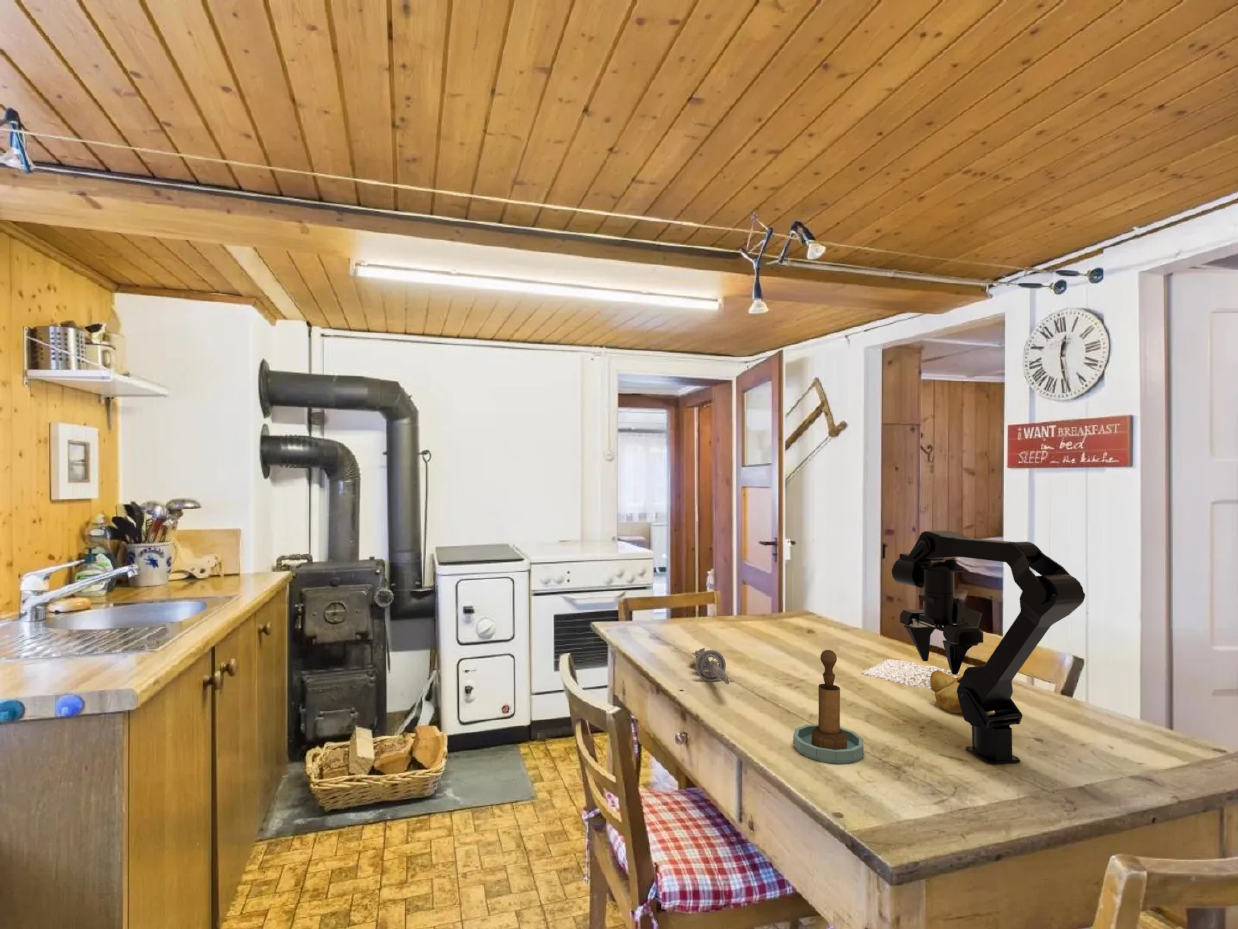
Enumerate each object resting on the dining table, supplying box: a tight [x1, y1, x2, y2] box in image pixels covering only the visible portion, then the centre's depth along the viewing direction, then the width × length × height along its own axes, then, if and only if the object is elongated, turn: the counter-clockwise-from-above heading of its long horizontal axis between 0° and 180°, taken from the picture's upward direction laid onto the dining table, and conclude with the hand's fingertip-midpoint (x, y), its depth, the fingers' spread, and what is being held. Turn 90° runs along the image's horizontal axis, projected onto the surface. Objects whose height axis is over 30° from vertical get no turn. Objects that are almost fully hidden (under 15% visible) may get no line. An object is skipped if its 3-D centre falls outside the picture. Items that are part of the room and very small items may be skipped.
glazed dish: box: [792, 723, 865, 765], centre depth 119 cm, size 13×13×2 cm
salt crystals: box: [860, 658, 960, 690], centre depth 165 cm, size 20×20×2 cm
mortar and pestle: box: [812, 649, 847, 750], centre depth 119 cm, size 7×6×18 cm
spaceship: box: [691, 647, 730, 685], centre depth 159 cm, size 8×35×8 cm
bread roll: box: [929, 670, 962, 714], centre depth 140 cm, size 13×10×8 cm
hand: (939, 667), depth 128 cm, fingers open, 9 cm apart
